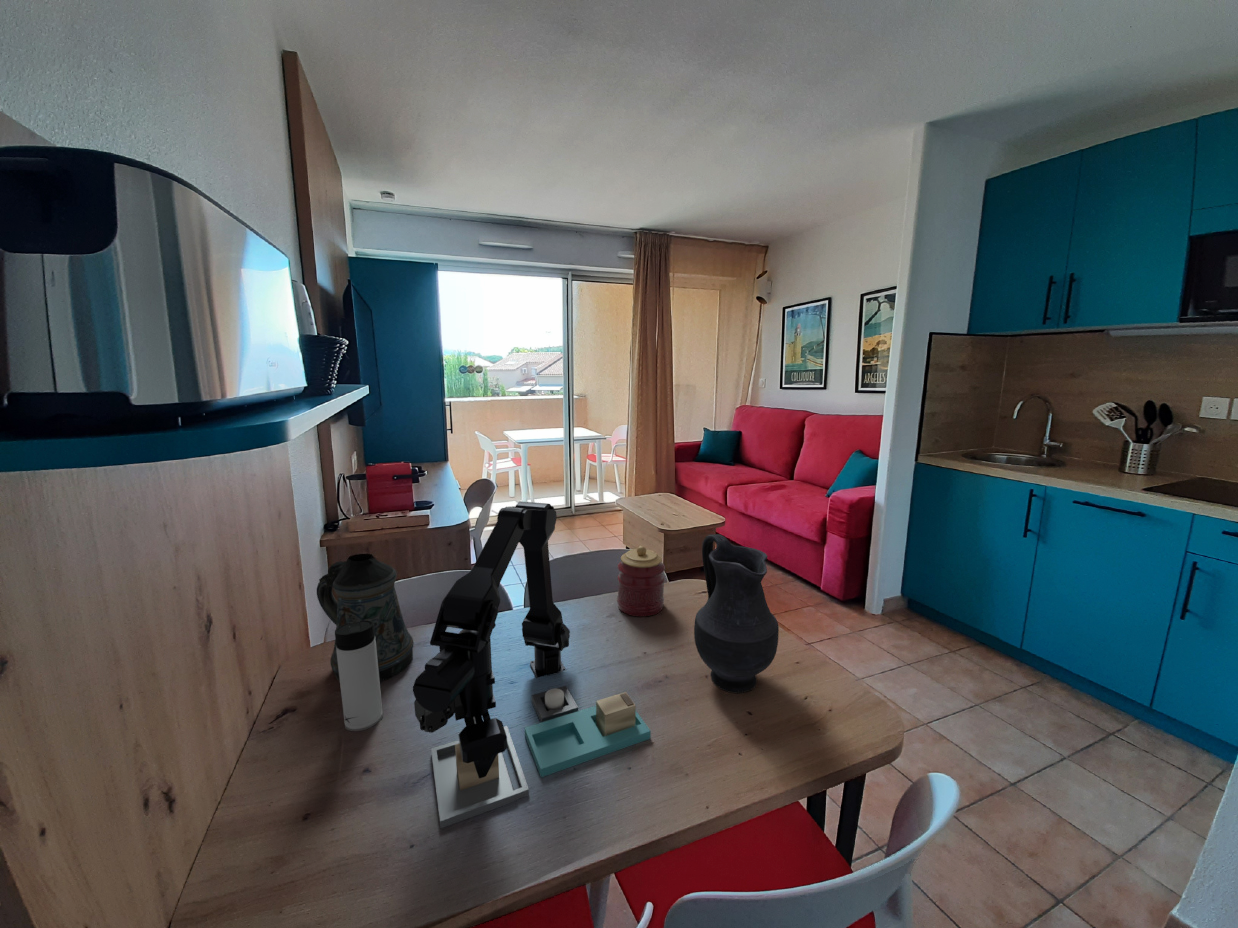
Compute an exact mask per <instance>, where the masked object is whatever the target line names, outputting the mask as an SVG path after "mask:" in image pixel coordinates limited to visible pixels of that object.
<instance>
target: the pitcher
mask: <svg viewBox="0 0 1238 928" xmlns="http://www.w3.org/2000/svg"><path fill="white" fill-rule="evenodd" d="M714 542H715V545H716V548H714ZM701 556H702V557H701V558H702V564H703V565H702V566H703V571H704V577H705V579H704V580H705V584H706V591H707V601H706V603H705V604H704V605H703V606H702V607H701V608H700V609H699V610H697V612H696V615H695V618H694V625H693V635H694V636H693V638H694V643H695V647H696V650H697V653H698V654H699V657H700V658H701V660H702V661H703V662H704V664H705V665H706V666H707V668H709V670H710V678H711V681H712V683H713V684H714V685H715V686H716V687H717V688H719V689H721V690H723V691H725V692H728V693H732V694H733V693H735V694H742V693H747V692H749V691H752V690H753V689H754V688H756V686H757V684H758V683H757V675H759V674H761V673H762V672H764V671H765V670H767V668H769V666H770V665H771V664H772V663H773V662H774V661H773V660H775V658H776V657H775V656H776V654H777V651H778V644H779V635H780V634H779V633H780V632H779V630H780V629H779V627H780V626H779V622H778V620H777V618H776V616H775V615H774V614H773V613H772V612H771V610H770V607H769V606H768V602H767V600H766V595H765V592H764V591H765V590H764V587H763V584H762V581H763V579H764V577H765V576H766V574H767V572H768V568H767V565H766V561H767V559H768V554H767V553H766V552H764V551H762V550H761V549H760V550H759V549H757V548H753V547H749V546H741V545H734V544H732V543H731V542H730V541H729V540H728V539H727V538H726V537H725V536H724V535H722V534H719V533H717V534H708V535H706V536H705V537H704V539H703V541H702V545H701Z"/></svg>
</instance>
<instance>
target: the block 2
mask: <svg viewBox="0 0 1238 928" xmlns="http://www.w3.org/2000/svg"><path fill="white" fill-rule="evenodd" d="M595 703H596V704H595V706H596V726H597V727H598V729H599V731H600V732H601V734H602V736H603V737H604V736H607V735H610V734H613V733H616V732H619V731H622V730H625V729H628V728H631V727H634V726H635V717H636V711H637V710H636V709H637V707H636V704H635V702H634V701H633V699H632V698H631V697H630V696H629V694H628V693H627V692H626V691H624V692H622V693H618V694H615V695H611V696H608V697H604V698H601V699H598V700H596V702H595Z"/></svg>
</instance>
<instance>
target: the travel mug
mask: <svg viewBox="0 0 1238 928" xmlns="http://www.w3.org/2000/svg"><path fill="white" fill-rule="evenodd" d="M334 637H335V638H334V640H335V639H336V652H337V660H338V669H339V678H340V681H339V684H340V685H339V686H340V694H341V695H340V696H341V701H342V702H341V703H342V713H343V719H344V720H343V722H344V729H345V730H348V731H351V732H360V731H366V730H368V729H370V728H372V727H374V726H375V725H377V724H378V723H379V722H380V721H382V720H383V716H384V713H383V705H382V693H381V683H380V681H379V671H378V660H377V650H376V640H375V634H374V623H373V622H372V621H369V620H362V621H360V622H355V623H351V624H349V623H347V624H344V625H342V626H340V627H338V628H337V629H336V628H335V630H334Z"/></svg>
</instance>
